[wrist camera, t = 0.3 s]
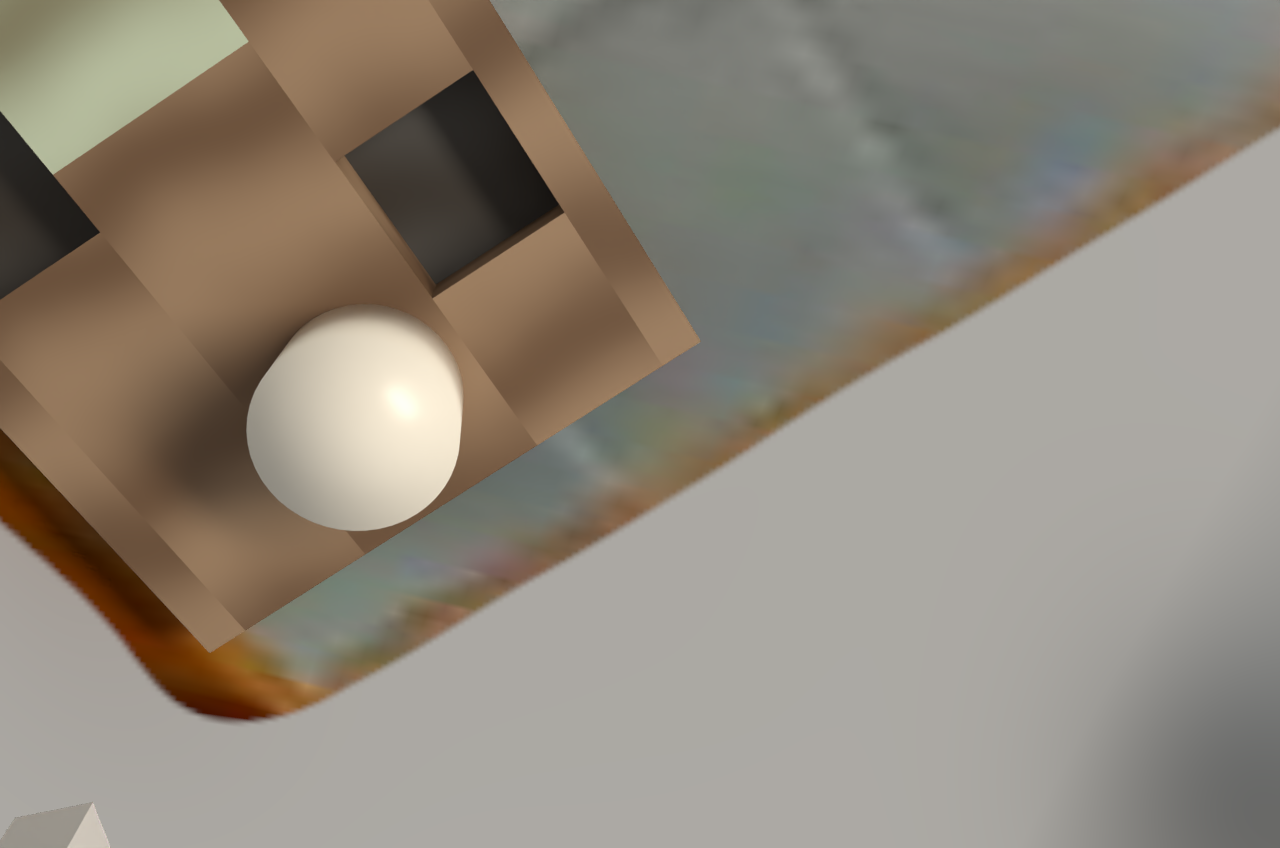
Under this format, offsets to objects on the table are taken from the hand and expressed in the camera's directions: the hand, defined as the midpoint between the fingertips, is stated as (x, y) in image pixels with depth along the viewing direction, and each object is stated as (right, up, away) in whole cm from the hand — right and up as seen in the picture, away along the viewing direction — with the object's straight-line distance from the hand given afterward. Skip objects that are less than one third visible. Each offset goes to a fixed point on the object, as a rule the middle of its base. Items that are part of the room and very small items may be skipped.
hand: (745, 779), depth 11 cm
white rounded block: (-10, +5, +23) cm, 26 cm away
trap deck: (-14, +11, +23) cm, 29 cm away
